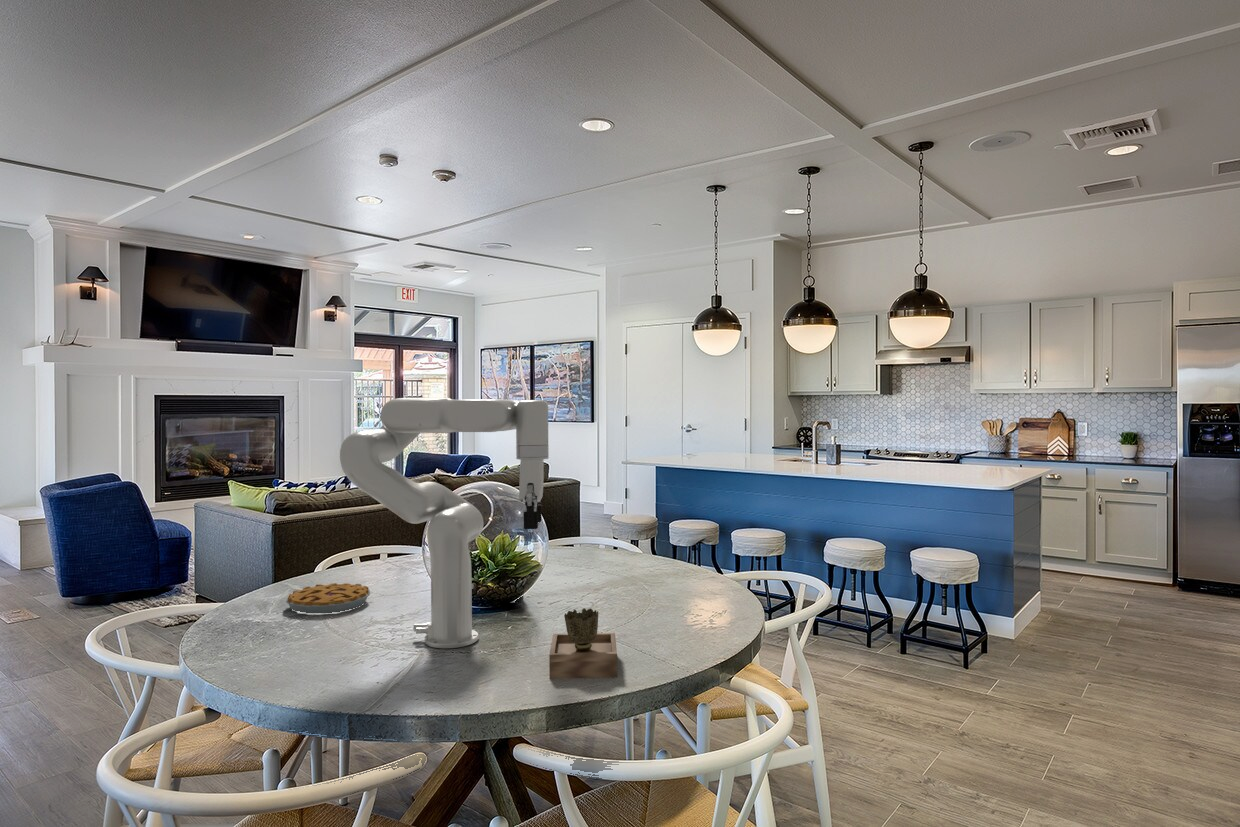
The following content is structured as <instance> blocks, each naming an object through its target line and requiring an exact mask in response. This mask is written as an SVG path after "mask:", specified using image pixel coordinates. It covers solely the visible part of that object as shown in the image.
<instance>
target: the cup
mask: <svg viewBox="0 0 1240 827" xmlns="http://www.w3.org/2000/svg"><path fill="white" fill-rule="evenodd" d="M563 616H564V622H565V627H566V632H567V633H568V637H569V639H570V640H571V641H572V642H573V643H575V649H576V650H578V651H587V650H590V649H591V646H592V644H591V642H592V641H593V640H594V639H595V638H596V635H597V633H598V627H599V626H598V625H599V610H597V609H594V611H593V609H592V608H588V609H586V608H582V609H581V612H579V611H578V612H577V609H573V611H571V610H568V611H567V613H564V615H563Z"/></svg>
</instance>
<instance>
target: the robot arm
mask: <svg viewBox="0 0 1240 827" xmlns="http://www.w3.org/2000/svg"><path fill="white" fill-rule="evenodd" d="M379 415H380V422H381V424H382V425H381V426H380V427H379V429H365V430H360V431H355V432H353V433H351V434H349V435H347V437H345V439H344V440H343V441H342V443H341V445H340V448H339V461H340V462H339V463H340V466H341V469H342V471H343V473H344V475H345V476H346V477H347V479H348V480H349V482H351V483H352V484H353V485H354V486H355V487H356V488H358V489H359V490H361V492H364V493H365V494H367V495H368V496H370V497H371V498H372V499H374V500H375V501H377V502H378V503H380V504H381V505H382V506H384V507H385V508H386V509H388V510H389V511H391V512H392V513H393V514H395V515H396V516H398V517H399V518H401V520H403V521H405V522H407V523H408V524H409V523H410V524H413V525H414V524H415V525H417V524H421V523H425V522H428V521H430V522H429V523H428V525H427V526H428V527H427V529H426V531H427V532H426V539H427V545H428V551H429V560H430V561H429V562H430V608H431V609H430V621H428V622H426V623H421V622H420V623H419V622H417V623H416V622H415V623H413V626H412V627H413V628H412V630H413V632H414V633H416V635H417V634H425V637H424V643H425V645H427V646H428V647H430V648H434V649H436V648H437V649H456V648H462V647H463V648H464V647H467V646H470V645H472V644H474V643H476V642H477V641H478V640H479V633H478V632H477V631H476V630H474V629H473V627H472V626H473V623H472V622H473V618H472V617H473V614H472V613H473V608H472V607H473V606H472V601H473V600H472V597H473V596H472V594H473V593H472V591H473V590H472V589H473V588H472V559H471V554H470V549H469V543H470V542H472V541H474V540H475V539H477V538H478V537H479V536H480V535H481V533H482V532H483V529H484V517H483V515H482V513H481V512H480V510H479V509H478V508H477V507H476V506H475V505H473V504H472V503H470V502H469V501H467V500H466V499H464V498H463V497H461V496H460V495H458V494H457V493H456V492H454V491H452V490H451V489H449V488H448V487H446V486H445V485H443V484H440V483H439V482H436V481H424V482H415V481H413V480H411V479H410V478H408V477H406V476H405V475H404V474H402V473H401V472H399V471H398V470H396V469H394V468H392V467H390V466H388V465H386V464H384V463H387V462H390V461H392V460H393V459H395V458H396V457H398V456H399V455H400V454H401V453H402V452H404V451H405V449H406V448H407V447H408V446H409V445H410V444H411V443H412V442H413V441H414V440H415V439H416V438H417V437H418V436H419V435H420V434H450V433H451V434H452V433H497V432H506V431H513V430H516V432H515V438H516V439H515V441H516V442H515V443H516V445H515V449H516V451H515V452H516V454H515V455H516V458H515V459H516V460H520V465H519V483H518V484H519V486H518V488H519V490H518V501H519V502H520V503H523V502H524V507H523V529H524V530H537V529H538V528H539V523H541V522H542V520H543V518H542V504H541V503H542V498H543V494H544V481H545V480H544V478H545V476H544V465H545V464H544V461H545V460H548V459H549V405H548V403H547V401H545V400H540V399H530V400H529V399H525V400H512V399H502V398H493V399H491V398H488V399H452V398H450V397H399V398H393V399H391V400H390V399H389V400H388V401H387V402H385V404H384V405H383V406H382V408H381V410H380V414H379Z"/></svg>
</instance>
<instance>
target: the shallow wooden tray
mask: <svg viewBox="0 0 1240 827" xmlns="http://www.w3.org/2000/svg"><path fill="white" fill-rule="evenodd" d="M591 644H592V646H591V649H590V650H587V651H578V650H576V649H575V643H573V642H572V641H571V640H570V639H569V637H568V633H565V632H564V633H552V638H551V644H550V649H549V656H548V657H549V658H548V660H549V663H548V664H549V669H548V670H549V672H548V673H549V679H550V680H551V679H596V678H597V679H598V678H599V679H602V678H603V679H604V678H605V679H606V678H607V679H608V678H609V679H610V678H611V679H612V678H613V679H615V678H618V652H617V641H616V632H597V635H596V638H595V639H594V640H593V641H592V642H591Z"/></svg>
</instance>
